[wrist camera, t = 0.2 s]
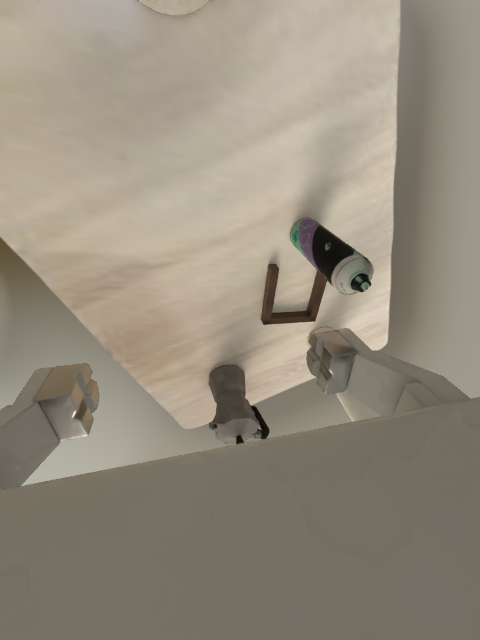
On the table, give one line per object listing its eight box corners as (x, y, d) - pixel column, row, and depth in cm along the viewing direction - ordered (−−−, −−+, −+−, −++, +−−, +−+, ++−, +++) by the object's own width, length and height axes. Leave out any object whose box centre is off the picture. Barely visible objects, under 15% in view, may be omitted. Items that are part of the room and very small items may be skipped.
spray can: (296, 214, 48) (358, 263, 32) (323, 221, 49) (394, 270, 34) (285, 244, 51) (336, 302, 35) (311, 250, 52) (371, 307, 37)
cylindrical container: (303, 350, 69) (356, 444, 49) (310, 327, 64) (371, 421, 45) (329, 348, 70) (391, 439, 50) (338, 326, 66) (408, 415, 46)
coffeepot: (194, 383, 68) (199, 453, 54) (212, 357, 64) (223, 426, 50) (245, 396, 75) (262, 461, 61) (264, 373, 71) (287, 437, 57)
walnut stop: (268, 264, 52) (271, 268, 51) (326, 263, 55) (330, 267, 53) (260, 319, 60) (263, 324, 58) (311, 316, 62) (315, 321, 61)
